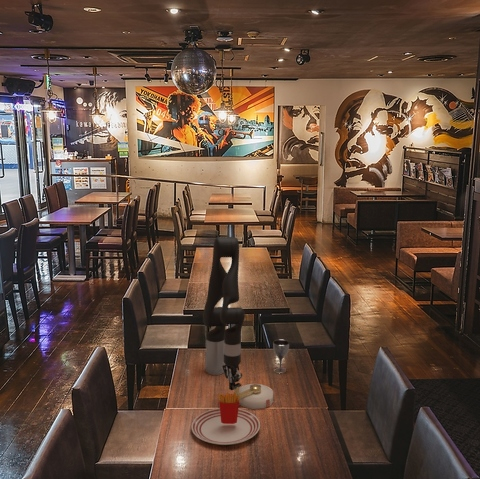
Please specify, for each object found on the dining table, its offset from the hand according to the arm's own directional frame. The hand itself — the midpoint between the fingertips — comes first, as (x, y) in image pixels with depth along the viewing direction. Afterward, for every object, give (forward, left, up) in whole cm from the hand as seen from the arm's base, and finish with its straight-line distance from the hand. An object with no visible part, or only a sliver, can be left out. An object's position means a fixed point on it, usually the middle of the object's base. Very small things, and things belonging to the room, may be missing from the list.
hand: (232, 389), depth 236 cm
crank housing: (+4, +10, -7) cm, 13 cm away
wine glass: (-11, +41, -7) cm, 43 cm away
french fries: (+15, -14, -4) cm, 21 cm away
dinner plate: (+15, -16, -7) cm, 24 cm away
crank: (+4, +5, -2) cm, 7 cm away
